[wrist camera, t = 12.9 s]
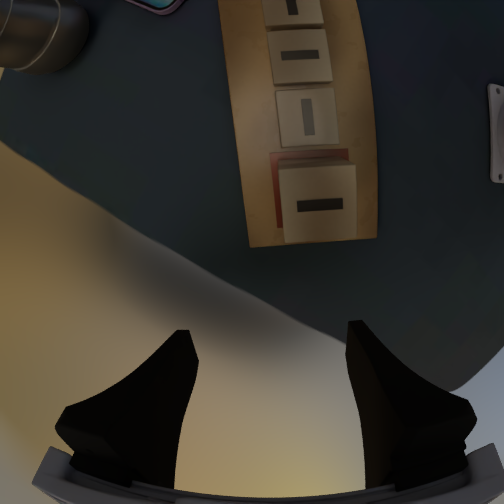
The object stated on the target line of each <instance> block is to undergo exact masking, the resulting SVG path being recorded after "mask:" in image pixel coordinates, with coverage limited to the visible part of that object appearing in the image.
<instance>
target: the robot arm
mask: <svg viewBox="0 0 504 504" xmlns="http://www.w3.org/2000/svg"><path fill="white" fill-rule="evenodd" d="M496 89H497V92H496ZM487 90H488V100H489V112H490V131H491V167H490V178H491V180H492V181H493V182H495V183H504V87H502V86H499V85H495V84H489V85H488V86H487ZM499 174H500V177H498V176H499ZM345 356H346V362H347V368H348V374H349V378H350V382H351V386H352V389H353V393H354V397H355V400H356V404H357V408H358V411H359V416H360V422H361V429H362V438H363V448H364V460H365V482H366V483H365V487H366V489H364V490H358V491H352V492H345V493H338V494H329V495H319V496H307V497H286V498H254V497H253V498H252V497H233V496H220V495H211V494H202V493H195V492H188V491H182V490H176V489H174V481H175V468H176V459H177V451H178V444H179V437H180V433H181V427H182V422H183V419H184V415H185V412H186V408H187V406H188V403H189V400H190V396H191V393H192V390H193V387H194V384H195V380H196V376H197V370H198V364H199V360H198V357H197V354H196V351H195V348H194V344H193V341H192V338H191V335H190V331H189V330H176V331H175V332H174V333H173V334H172V335H171V336H170V337H169V338H168V339H167V340H166V341H165V342H164V343H163V344H162V345H161V346H160V347H159V348H158V349H157V350H156V351H155V352H154V353H153V354H152V355H151V356H150V357H149V358H148V359H147V360H146V361H145V362H143V363H142V364H141V365H140V366H139V367H138V368H137V369H135V370H134V371H133V372H132V373H130V374H129V375H128V376H126V377H125V378H124V379H122V380H121V381H119V382H118V383H116V384H114V385H113V386H111V387H110V388H108V389H106V390H105V391H103V392H101V393H99V394H97V395H95V396H93V397H91V398H88V399H86V400H84V401H81V402H78V403H76V404H73V405H70V406H67V407H66V408H65V409H64V411H63V413H62V414H61V416H60V418H59V419H58V421H57V423H56V425H55V430H56V432H57V434H58V435H59V436H60V437H61V438H62V439H63V440H64V442H66V444H67V445H69V447H70V448H71V449H72V450H73V451H74V454H73V456H71V455H70V454H68V453H66V452H64V451H61V450H59V449H56V448H54V447H52V446H50V447H49V449H48V451H47V453H46V455H45V457H44V459H43V460H42V462H41V464H40V466H39V468H38V471H37V473H36V474H35V476H34V479H33V481H32V484H33V485H34V486H35V487H37V488H38V489H39V490H41V491H42V492H44V493H45V494H46V495H48V496H49V497H51V498H52V499H54V500H56V501H57V502H58V503H60V504H488V503H490V502H491V501H492V500H494V499H495V498H497V497H498V496H499V495H501V494H502V493H503V492H504V469H503V466H502V463H501V461H500V458H499V455H498V453H497V450H496V448H495V445H494V443H491V444H488V445H486V446H484V447H482V448H480V449H477V450H475V451H473V452H471V453H469V454H468V455H465V453H464V450H465V449H466V444H465V441H464V440H465V439H466V437H467V436H468V435H469V434H470V432H471V431H472V429H473V428H474V426H475V424H476V422H477V417H476V415H475V413H474V410H473V408H472V406H471V404H470V403H469V401H468V400H467V399H464V398H461V397H459V396H456V395H454V394H451V393H449V392H447V391H445V390H443V389H441V388H439V387H437V386H435V385H433V384H432V383H430V382H428V381H427V380H425V379H424V378H422V377H420V376H419V375H417V374H416V373H415V372H413V371H412V370H411V369H409V368H408V367H407V366H406V365H404V364H403V363H402V362H401V361H400V360H399V359H398V358H397V357H395V356H394V355H393V354H392V353H391V352H390V351H389V350H388V349H387V348H386V347H385V346H384V345H383V343H382V342H381V341H380V340H379V339H378V338H377V337H376V336H375V335H374V333H373V332H372V331H371V330H370V329H369V328H368V326H367V325H366V324H365V323H364V322H363V321H362V320H356V321H348V332H347V343H346V353H345Z"/></svg>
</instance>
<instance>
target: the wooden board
mask: <svg viewBox="0 0 504 504" xmlns="http://www.w3.org/2000/svg"><path fill="white" fill-rule="evenodd" d="M218 7H219V15H220V22H221V30H222V38H223V46H224V53H225V61H226V69H227V76H228V84H229V92H230V99H231V107H232V115H233V122H234V130H235V138H236V145H237V153H238V160H239V168H240V176H241V183H242V191H243V198H244V206H245V214H246V221H247V229H248V236H249V244H250V247H264V246H276V245H289V244H302V243H315V242H329V241H342V240H355V239H369V238H377V220H378V172H377V146H376V130H375V117H374V106H373V96H372V88H371V80H370V72H369V65H368V59H367V53H366V47H365V41H364V36H363V30H362V25H361V21H360V16H359V11H358V7H357V3H356V0H218ZM334 156H340V157H342V158H344V159H346V160H347V161H349V162H351V163H353V164H355V165H356V179H357V237H356V238H345V239H332V240H319V241H306V242H293V243H285V242H284V231H283V220H282V209H281V198H280V188H279V178H278V160H286V159H300V158H315V157H334Z"/></svg>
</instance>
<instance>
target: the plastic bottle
mask: <svg viewBox="0 0 504 504" xmlns="http://www.w3.org/2000/svg"><path fill="white" fill-rule="evenodd" d="M88 33H89V18H88V14H87V12H86V10H85V9H84V8H83V7H81V6H80V5H79V4H78V3H76V2H75V1H74V0H0V67H3V68H11V69H13V70H16V71H19V72H23V73H27V74H32V75H41V74H47V73H52V72H56V71H58V70H60V69H62V68H63V67H64V66H66V65H67V64H68V63H70V62H71V61H72V60H73V59H74V58H75V57H76V56H77V55H78V53H79V52H80V51H81V49H82V48H83V46H84V44H85V42H86V40H87V37H88Z"/></svg>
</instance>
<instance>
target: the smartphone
mask: <svg viewBox="0 0 504 504" xmlns="http://www.w3.org/2000/svg"><path fill="white" fill-rule="evenodd" d="M125 1H128V2H130V3H133V4H135V5H137V6H140V7H142V8H145V9H147V10H149V11H151V12H154V13H156V14H159V15H166V14H169V13H171V12H173V11H174V10H176V9H177V8H178V7H179V6H180V4H181V3H182V2H183V1H184V0H125Z"/></svg>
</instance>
